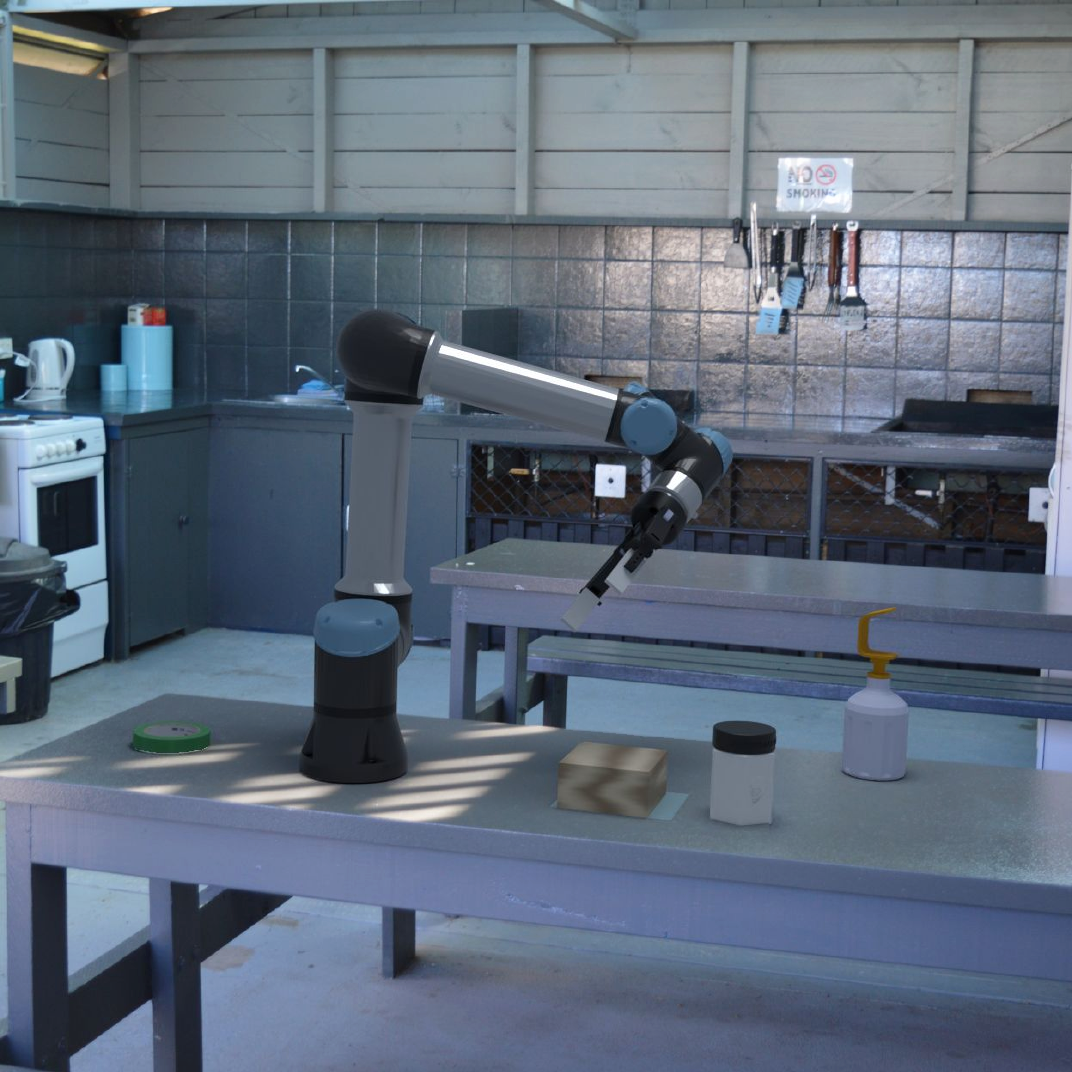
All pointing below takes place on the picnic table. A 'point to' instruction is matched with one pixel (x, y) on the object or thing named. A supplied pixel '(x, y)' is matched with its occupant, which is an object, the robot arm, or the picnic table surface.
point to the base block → (612, 779)
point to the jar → (742, 772)
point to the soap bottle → (875, 719)
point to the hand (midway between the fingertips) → (589, 607)
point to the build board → (660, 806)
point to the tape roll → (171, 737)
